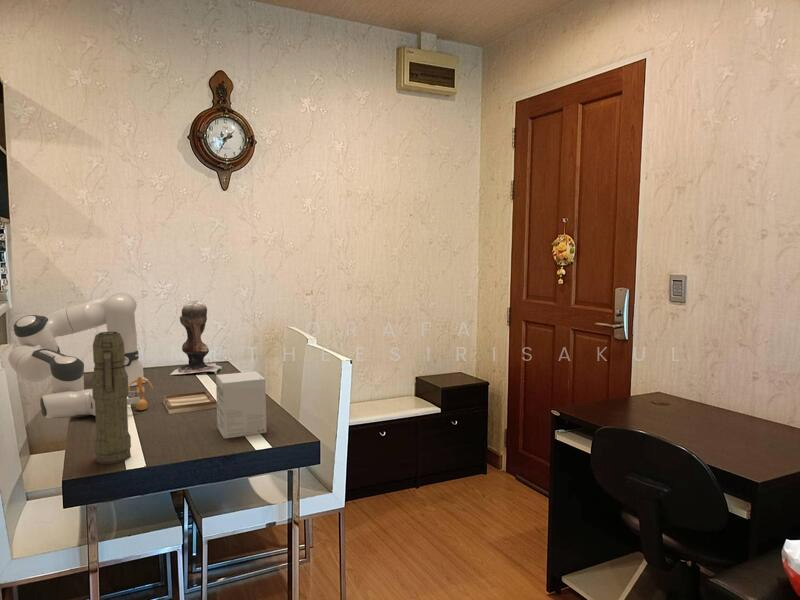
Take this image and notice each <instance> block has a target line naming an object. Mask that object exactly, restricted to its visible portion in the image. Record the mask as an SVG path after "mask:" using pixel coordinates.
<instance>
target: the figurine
mask: <svg viewBox="0 0 800 600" xmlns="http://www.w3.org/2000/svg"><path fill="white" fill-rule="evenodd" d="M143 381H146V382H145V383H148V384H149V386H151V387H150V388H151V389H152V390H153V389H154V387H153V385H152V383H151V382H150V380H149V379H148V380H145V379H142V378H141V377H138V378H137V379H136V380H134V381H133V382H131V383H130V385H129V387H128V391H131V390H130V389H131V387H132V386H131V384H132V383H135V382H137V385H136V387H135V390H136V391H137V393H138V394H137V395H138V396H137V397H140V391H141V392H142V393H141V397H142V398H140V402H139V403H135V408H136V409H137V410H138V411H144V410H146V409H147V408H148V407H149V404H148V401H147V399H145V396H144V395H145V393H146V392H145V391H146V390H145V386H144V385H143V384H144V383H143Z"/></svg>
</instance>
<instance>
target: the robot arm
mask: <svg viewBox="0 0 800 600" xmlns="http://www.w3.org/2000/svg"><path fill="white" fill-rule="evenodd" d="M136 309H137V300H136V298H134V296H133V295H131V294H129V293H127V292H117V293H114V294H111V295H107V296H104V297H100V298H97V299H93V300H90V301H86V302H81V303H79V304H75V305H71V306H66V307H65V308H61V309H58V310H56V311H52V312H50V313H49V314H46V315H44V316H43V315H38V314H29V315H25V316H22V317H20V318H18V319H17V320H16V321H15V322H14V324H13V333H14V335H15V336H16V337H17V339H18V342H19V344H20V345H18V346H16V347H14V348H13V349H12V350H11V351H10V352H9V354H8V362H9V364H10V366H11V367H12V369H13V371H14V372H15V373H17V375H18V376H20V377H21V378H22V379H25V381H28V382H30V383H39V382H43V381H45V380H47V379H48V378H49V377H51V386H52V390H51V392H50V393H49V394H45V395H42V396H41V397H40V400H39V403H40V404H39V405H40V411H41V414H42V416H43V418H45V419H67V418H73V417H76V416H95V401H94V399H93V393H92V388H89V389H88V388H87V389H85V382H84V381H85V380H84V379H85V377H84V374H85V373H84V372H85V363H84V362H83V361H82V360H81V359H79V358H78V357H77V356H73V355H72V356H71V355H65V354H64V353H61V349H60V346H58V343H57V341H56V339H55V338H57V337H63V336H69V335H73V334H77V333H80V332H83V331H87V330H91V329H94V328H97V327H100V326H101V327H102V326H103V325H106V332H118V333H120V334H121V336H122V339H123V341H124V354H125V360H124V365H125V370H126V373H127V375H128V388H129V385H130V383H131V382H133V381H134V380H136V379H137V378H138V377H141V378H142V379H145V380H148V381H149V379H148V378H146V377H144V367H143V363H142V362H141V361H140V360H139V356H140V354H139V350H138V342H137V341H138V336H137V335H138V333H137V329H136V315H135V312H136ZM144 383H147V382H146V381H143V384H144ZM134 386H138V385H137V382H135V383H132V384H131V386H130V387H134ZM128 392H129V394H128V396H127V406H130V405H133V404H136V403H139V402H140V399H141V397H140V396H139V397H138V395H137V394H138V393H137V390H129V391H128ZM95 417H96V416H95Z"/></svg>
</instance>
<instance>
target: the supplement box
mask: <svg viewBox="0 0 800 600" xmlns="http://www.w3.org/2000/svg"><path fill="white" fill-rule="evenodd" d="M215 381H216V382H215V383H216V384H215V385H216V386H215V388H216V391H215V393H216V427H217V429H218V431H219V433H220V435H221V436H222V437H223V439H231V438H238V437H244V436H245V437H246V436H252V435H258V434H266V433H268V432H267V399H266V398H267V397H266V393H267V392H266V378H265V377H263V376H262V375H261V374H260V373H259V372H257V371H256V370H254V371H244V372H234V373H233V372H232V373H223V374H216V375H215Z"/></svg>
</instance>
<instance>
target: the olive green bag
mask: <svg viewBox="0 0 800 600" xmlns="http://www.w3.org/2000/svg"><path fill="white" fill-rule="evenodd" d="M93 339H94V340H93V342H92V352H93V353H92V355H93V363H94V367H93V373H92V377H91V387H92V388H91V389H92V393H93V399H94V401H95V438H94V440H93V442H94V453H95V462H96V463H97V464H100V465H101V464H103V465H109V464H116V463H117V464H118V463H122V462H124V461H127V460H128V459H130V458H131V447H132V440H131V439H132V438H131V434H130V432H129V419H128V418H129V417H128V416H129V415H128V405H127V398H128V397H127V396H128V394H129V392H128V388H129V387H128V375H127V373H126V370H125V365H124V360H125V354H124V341H123V339H122V336H121V334H120V333H118V332H107V331H102V332H98V333H97V334H95V336H94V338H93Z"/></svg>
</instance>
